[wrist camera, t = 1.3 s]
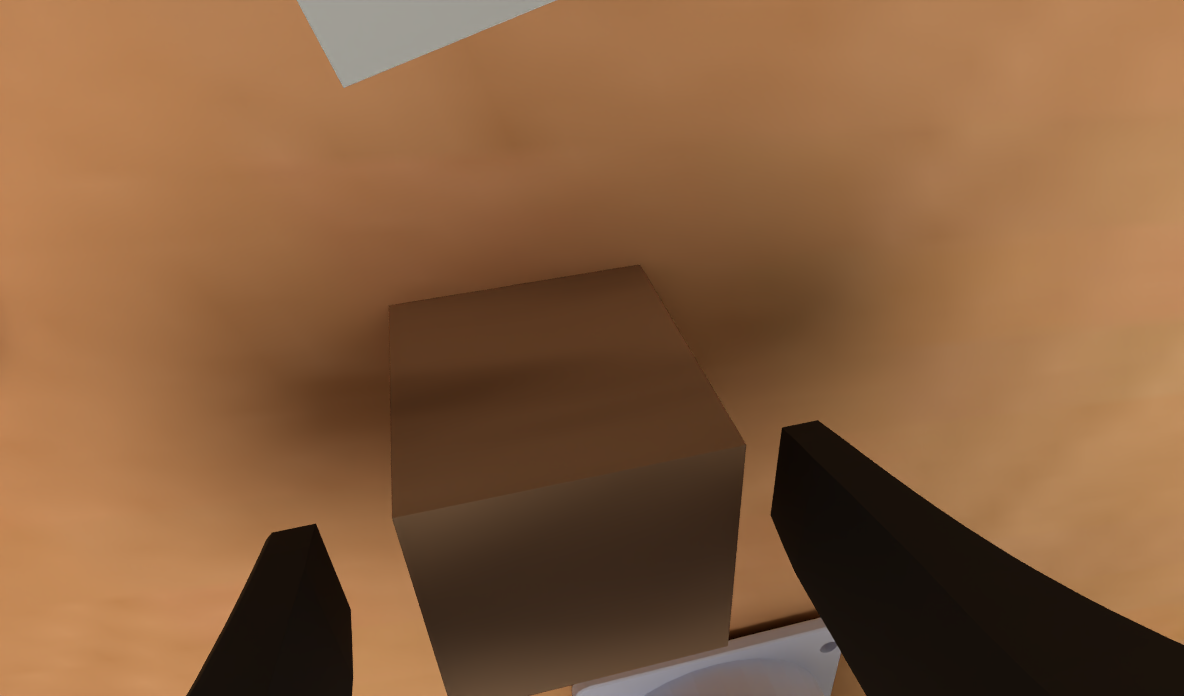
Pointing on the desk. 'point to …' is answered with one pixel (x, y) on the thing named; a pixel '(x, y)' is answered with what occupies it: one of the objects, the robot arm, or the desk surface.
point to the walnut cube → (560, 483)
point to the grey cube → (399, 29)
